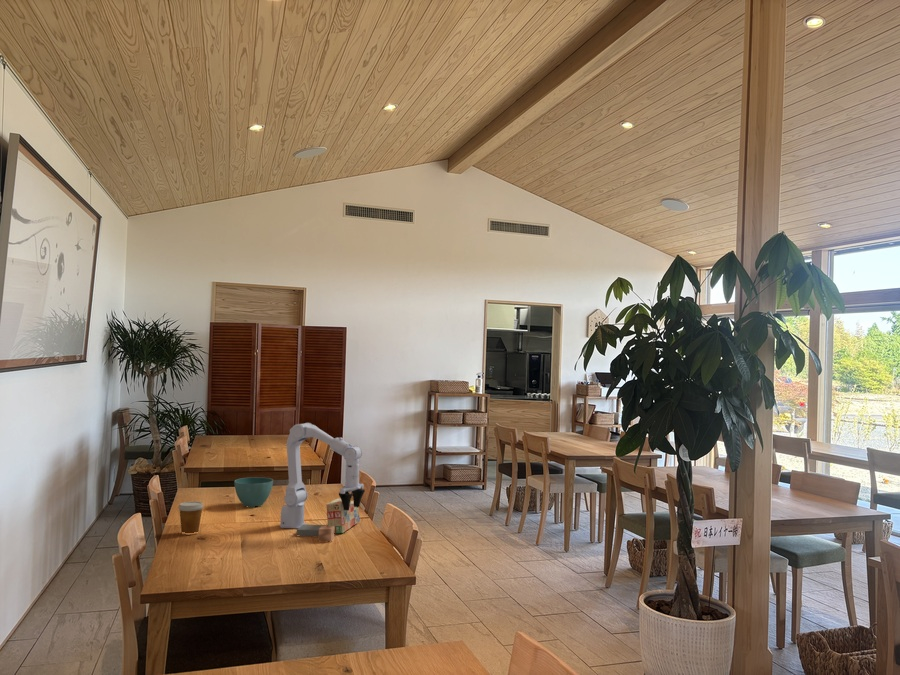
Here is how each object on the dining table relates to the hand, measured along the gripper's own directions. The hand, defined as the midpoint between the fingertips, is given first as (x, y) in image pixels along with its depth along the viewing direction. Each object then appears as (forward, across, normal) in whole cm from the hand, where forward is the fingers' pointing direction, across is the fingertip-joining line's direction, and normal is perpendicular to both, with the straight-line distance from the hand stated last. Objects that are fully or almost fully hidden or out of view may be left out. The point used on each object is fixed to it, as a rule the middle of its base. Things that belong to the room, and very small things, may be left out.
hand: (351, 508), depth 279 cm
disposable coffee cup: (+10, -35, +54) cm, 66 cm away
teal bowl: (+10, +19, +70) cm, 74 cm away
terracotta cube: (+10, -16, +1) cm, 19 cm away
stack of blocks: (+10, +4, +6) cm, 12 cm away
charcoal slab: (+10, -11, +12) cm, 19 cm away
